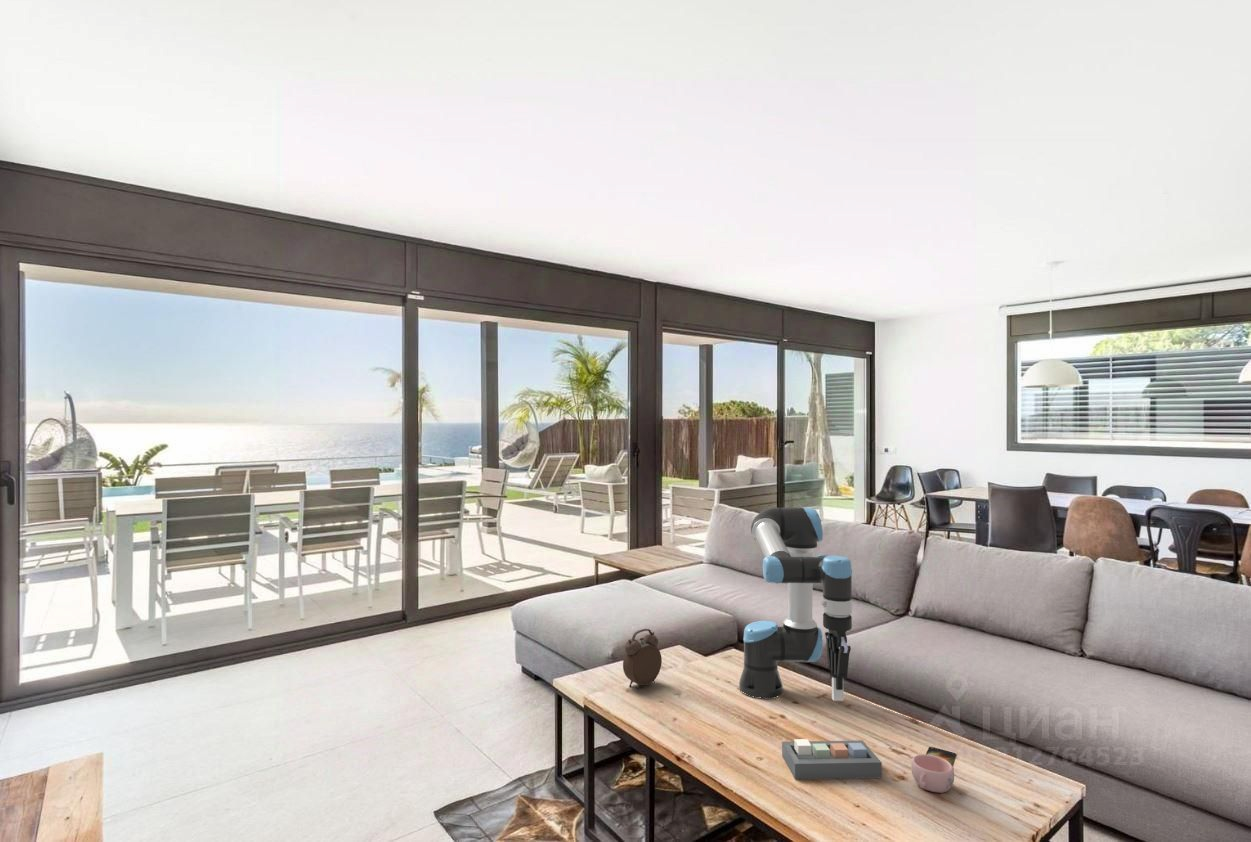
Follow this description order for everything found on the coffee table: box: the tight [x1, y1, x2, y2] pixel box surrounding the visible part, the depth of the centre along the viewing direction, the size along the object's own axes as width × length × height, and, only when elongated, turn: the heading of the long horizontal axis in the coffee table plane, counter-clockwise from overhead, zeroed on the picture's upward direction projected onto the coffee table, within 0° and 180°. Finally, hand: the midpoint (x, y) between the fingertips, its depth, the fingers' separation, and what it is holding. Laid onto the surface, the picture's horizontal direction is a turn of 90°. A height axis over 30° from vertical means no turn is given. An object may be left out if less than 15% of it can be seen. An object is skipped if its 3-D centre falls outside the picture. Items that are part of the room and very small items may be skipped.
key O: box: [793, 738, 812, 755], centre depth 170 cm, size 4×4×2 cm
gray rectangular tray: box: [781, 740, 883, 780], centre depth 170 cm, size 12×23×4 cm, turn 92°
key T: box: [830, 743, 848, 759], centre depth 170 cm, size 4×4×2 cm
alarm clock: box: [622, 628, 662, 690], centre depth 227 cm, size 15×7×20 cm, turn 130°
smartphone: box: [925, 746, 957, 767], centre depth 173 cm, size 7×1×15 cm
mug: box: [910, 753, 955, 793], centre depth 160 cm, size 12×10×6 cm
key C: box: [812, 743, 830, 759], centre depth 170 cm, size 4×4×2 cm
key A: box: [848, 743, 867, 759], centre depth 171 cm, size 4×4×2 cm
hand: (837, 699), depth 172 cm, fingers closed
